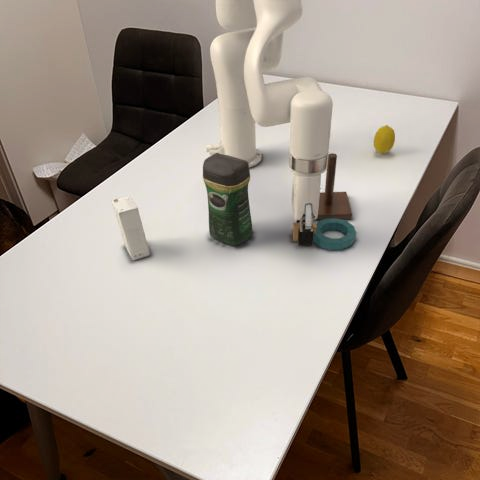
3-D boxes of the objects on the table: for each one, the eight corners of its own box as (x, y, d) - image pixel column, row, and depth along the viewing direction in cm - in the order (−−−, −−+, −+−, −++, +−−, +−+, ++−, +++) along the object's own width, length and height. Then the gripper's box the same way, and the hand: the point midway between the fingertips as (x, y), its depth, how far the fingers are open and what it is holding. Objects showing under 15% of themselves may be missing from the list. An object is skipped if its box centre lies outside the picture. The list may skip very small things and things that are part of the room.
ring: (294, 251, 102) (294, 237, 100) (291, 227, 109) (292, 213, 106) (357, 249, 102) (359, 235, 99) (351, 225, 108) (353, 211, 105)
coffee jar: (258, 233, 108) (256, 156, 94) (237, 251, 103) (232, 173, 90) (225, 220, 112) (218, 145, 99) (204, 237, 108) (194, 160, 94)
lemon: (390, 149, 133) (395, 121, 127) (393, 158, 129) (398, 129, 124) (370, 149, 134) (375, 121, 128) (372, 158, 130) (377, 130, 124)
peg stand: (308, 220, 110) (311, 167, 101) (305, 198, 117) (308, 146, 108) (351, 219, 110) (358, 165, 100) (345, 196, 117) (352, 144, 107)
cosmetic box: (151, 255, 104) (140, 207, 95) (131, 261, 103) (118, 213, 94) (142, 240, 108) (131, 193, 99) (123, 246, 107) (110, 199, 98)
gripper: (287, 141, 98) (285, 216, 111) (291, 182, 86) (289, 261, 99) (323, 140, 98) (317, 215, 111) (332, 181, 86) (325, 260, 99)
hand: (304, 236), depth 105 cm, fingers open, 5 cm apart
